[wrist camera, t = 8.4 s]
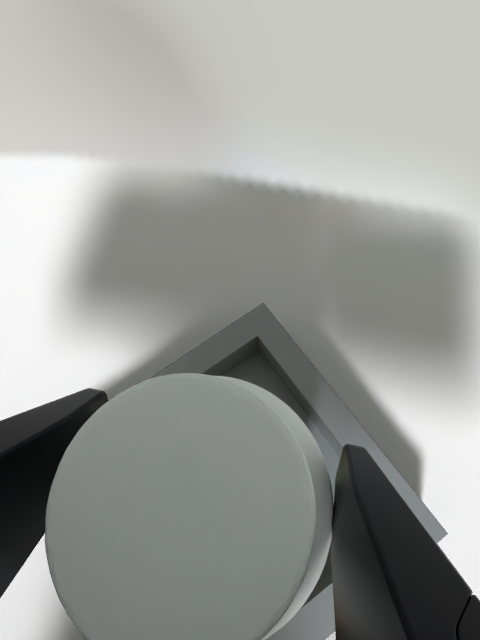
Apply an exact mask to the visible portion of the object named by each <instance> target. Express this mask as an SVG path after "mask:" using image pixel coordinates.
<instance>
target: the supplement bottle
mask: <svg viewBox="0 0 480 640" xmlns="http://www.w3.org/2000/svg"><path fill="white" fill-rule="evenodd" d="M332 524H333V492H332V486H331V481H330V477H329V473H328V469H327V466H326V463H325V460H324V457H323V455H322V453H321V450H320V448H319V446H318V444H317V442H316V440H315V439H314V437H313V435H312V433H311V432H310V431H309V429H308V428H307V426H306V425H305V424H304V422H303V421H302V420H301V419H300V418H299V416H298V415H297V414H296V413H295V412H294V411H293V410H292V409H291V408H290V407H289V406H288V405H287V404H285V403H284V402H283V401H282V400H280V399H279V398H278V397H276V396H275V395H273V394H272V393H270V392H268V391H267V390H265V389H263V388H261V387H259V386H257V385H255V384H252V383H249V382H247V381H244V380H240V379H236V378H232V377H225V376H211V375H205V374H198V373H179V374H170V375H164V376H159V377H155V378H152V379H148V380H145V381H143V382H141V383H138V384H136V385H134V386H132V387H130V388H128V389H126V390H124V391H123V392H121V393H119V394H118V395H116V396H115V397H113V398H112V399H111V400H109V401H108V402H106V403H105V404H104V405H103V406H101V407H100V408H99V409H98V410H97V411H96V412H95V413H94V414H93V415H92V416H91V417H90V418H89V419H88V420H87V421H86V422H85V423H84V425H83V426H82V427H81V428H80V430H79V431H78V432H77V434H76V435H75V437H74V438H73V440H72V441H71V443H70V444H69V446H68V447H67V449H66V451H65V453H64V455H63V457H62V459H61V462H60V464H59V466H58V469H57V472H56V474H55V477H54V480H53V483H52V485H51V489H50V493H49V497H48V503H47V508H46V518H45V547H46V555H47V560H48V565H49V570H50V574H51V577H52V580H53V584H54V587H55V589H56V592H57V595H58V597H59V600H60V601H61V603H62V605H63V607H64V609H65V611H66V612H67V614H68V616H69V617H70V619H71V620H72V622H73V623H74V625H75V626H76V627H77V628H78V629H79V631H80V632H81V633H82V634H83V635H84V636H85V637H86V638H87V639H88V640H265V639H267V638H268V637H270V636H271V635H273V634H274V633H275V632H277V631H278V630H279V629H281V628H282V627H283V626H284V625H285V624H286V623H287V622H288V621H290V620H291V619H292V618H293V617H294V615H295V614H296V613H297V612H298V611H299V609H300V608H301V607H302V606H303V604H304V603H305V602H306V600H307V599H308V597H309V596H310V594H311V592H312V591H313V589H314V587H315V585H316V583H317V581H318V580H319V578H320V575H321V573H322V571H323V568H324V565H325V562H326V559H327V555H328V552H329V548H330V544H331V539H332Z"/></svg>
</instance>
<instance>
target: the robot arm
mask: <svg viewBox="0 0 480 640" xmlns="http://www.w3.org/2000/svg"><path fill="white" fill-rule="evenodd" d="M106 402H108V398H107V394H106V393H105V392H104V391H101V390H96V389H91V388H88V389H85V390H82V391H79V392H77V393H74V394H71V395H69V396H66V397H63V398H61V399H58V400H55V401H52V402H50V403H47V404H44V405H42V406H39V407H36V408H34V409H31V410H28V411H26V412H23V413H20V414H18V415H15V416H12V417H10V418H7V419H4V420H1V421H0V598H1V596H2V595H3V593H4V592H5V591H6V589H7V588H8V586H9V585H10V583H11V582H12V580H13V579H14V577H15V576H16V574H17V573H18V571H19V570H20V569H21V567H22V566H23V564H24V563H25V561H26V560H27V558H28V557H29V555H30V554H31V552H32V551H33V549H34V548H35V547H36V545H37V544H38V542H39V541H40V539H41V538H42V536H43V535H44V533H45V518H46V508H47V503H48V497H49V493H50V489H51V485H52V483H53V480H54V477H55V474H56V472H57V469H58V466H59V464H60V462H61V459H62V457H63V455H64V453H65V451H66V449H67V447H68V446H69V444H70V443H71V441H72V440H73V438H74V437H75V435H76V434H77V432H78V431H79V430H80V428H81V427H82V426H83V425H84V423H85V422H86V421H87V420H88V419H89V418H90V417H91V416H92V415H93V414H94V413H95V412H96V411H97V410H98V409H99V408H100V407H101V406H103V405H104V404H105V403H106ZM331 566H332V583H333V599H334V615H335V631H336V640H480V600H479V599H478V598H477V596H476V595H472V590H471V589H470V587H469V586H468V585H467V583H466V582H465V581H464V579H463V578H462V576H461V575H460V574H459V572H458V571H457V570H456V568H455V567H454V566H453V564H452V563H451V562H450V560H449V559H448V558H447V556H446V555H445V554H444V552H443V551H442V550H441V548H440V547H439V546H438V544H437V543H436V542H435V540H434V539H433V538H432V536H431V535H430V534H429V532H428V531H427V530H426V528H425V527H424V526H423V524H422V523H421V522H420V520H419V519H418V518H417V516H416V515H415V514H414V512H413V511H412V510H411V508H410V507H409V506H408V504H407V503H406V502H405V500H404V499H403V498H402V496H401V495H400V494H399V492H398V491H397V489H396V488H395V487H394V485H393V484H392V483H391V481H390V480H389V479H388V477H387V476H386V475H385V473H384V472H383V471H382V469H381V468H380V467H379V465H378V464H377V463H376V461H375V460H374V459H373V457H372V456H371V455H370V453H369V452H368V451H367V449H366V448H364V447H362V446H357V445H352V444H345V445H344V447H343V450H342V454H341V458H340V462H339V465H338V469H337V473H336V478H335V489H334V507H333V524H332V542H331ZM471 595H472V596H471Z"/></svg>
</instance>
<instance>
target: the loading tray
mask: <svg viewBox="0 0 480 640" xmlns="http://www.w3.org/2000/svg"><path fill="white" fill-rule="evenodd" d="M179 373H198V374H205V375H211V376H225V377H232V378H236V379H240V380H244V381H247V382H249V383H252V384H255V385H257V386H259V387H261V388H263V389H265V390H267V391H268V392H270V393H272V394H273V395H275V396H276V397H278V398H279V399H280V400H282V401H283V402H284V403H285V404H287V405H288V406H289V407H290V408H291V409H292V410H293V411H294V412H295V413H296V414H297V415H298V416H299V418H300V419H301V420H302V421H303V422H304V424H305V425H306V426H307V428H308V429H309V431H310V432H311V433H312V435H313V437H314V439H315V440H316V442H317V444H318V446H319V448H320V450H321V453H322V455H323V457H324V460H325V463H326V466H327V469H328V473H329V477H330V481H331V486H332V492H333V507H334V489H335V478H336V473H337V469H338V465H339V462H340V458H341V454H342V450H343V447H344V445H345V444H352V445H357V446H362V447H364V448H366V449H367V451H368V452H369V453H370V455H371V456H372V457H373V459H374V460H375V461H376V463H377V464H378V465H379V467H380V468H381V469H382V471H383V472H384V473H385V475H386V476H387V477H388V479H389V480H390V481H391V483H392V484H393V485H394V487H395V488H396V489H397V491H398V492H399V494H400V495H401V496H402V498H403V499H404V500H405V502H406V503H407V504H408V506H409V507H410V508H411V510H412V511H413V512H414V514H415V515H416V516H417V518H418V519H419V520H420V522H421V523H422V524H423V526H424V527H425V528H426V530H427V531H428V532H429V534H430V535H431V536H432V538H433V539H434V540H435V542H436V543H438V542H439V541H440V540H441V539H442V538H443V537H445V536H446V535H447V534H448V533H447V532H446V531H445V529H444V528H443V527H442V526H441V524H440V523H439V522H438V521H437V519H436V518H435V517H434V516H433V514H432V513H431V512H430V511H429V509H428V508H427V507H426V506H425V504H424V503H423V502H422V501H421V499H420V498H419V497H418V496H417V494H416V493H415V492H414V491H413V489H412V488H411V487H410V486H409V484H408V483H407V482H406V481H405V479H404V478H403V477H402V476H401V474H400V473H399V472H398V471H397V469H396V468H395V467H394V466H393V464H392V463H391V462H390V461H389V459H388V458H387V457H386V456H385V454H384V453H383V452H382V451H381V449H380V448H379V447H378V446H377V444H376V443H375V442H374V441H373V439H372V438H371V437H370V436H369V434H368V433H367V432H366V431H365V429H364V428H363V427H362V426H361V424H360V423H359V422H358V421H357V419H356V418H355V417H354V416H353V414H352V413H351V412H350V411H349V409H348V408H347V407H346V406H345V404H344V403H343V402H342V401H341V399H340V398H339V397H338V396H337V394H336V393H335V392H334V391H333V389H332V388H331V387H330V386H329V384H328V383H327V382H326V381H325V379H324V378H323V377H322V376H321V374H320V373H319V372H318V371H317V369H316V368H315V367H314V366H313V364H312V363H311V362H310V361H309V359H308V358H307V357H306V356H305V354H304V353H303V352H302V351H301V349H300V348H299V347H298V346H297V344H296V343H295V342H294V341H293V339H292V338H291V337H290V336H289V334H288V333H287V332H286V331H285V329H284V328H283V327H282V326H281V324H280V323H279V322H278V321H277V319H276V318H275V317H274V316H273V314H272V313H271V312H270V311H269V309H268V308H267V307H266V306H265V304H264V303H262V304H261V305H259V306H258V307H256V308H255V309H253V310H252V311H250V312H249V313H247V314H246V315H244V316H243V317H241V318H240V319H238V320H237V321H235V322H234V323H232V324H231V325H229V326H228V327H226V328H225V329H223V330H222V331H220V332H219V333H217V334H216V335H214V336H213V337H211V338H210V339H208V340H207V341H205V342H204V343H202V344H201V345H199V346H198V347H196V348H195V349H193V350H192V351H190V352H189V353H187V354H186V355H184V356H183V357H181V358H180V359H178V360H177V361H175V362H174V363H172V364H171V365H169V366H168V367H166V368H165V369H163V370H162V371H160V372H159V373H157V374H156V375H154V376H153V377H151V378H150V379H152V378H155V377H159V376H164V375H170V374H179ZM331 542H332V539H331ZM334 631H335V615H334V599H333V583H332V566H331V544H330V548H329V552H328V555H327V559H326V562H325V565H324V568H323V571H322V573H321V575H320V578H319V580H318V581H317V583H316V585H315V587H314V589H313V591H312V592H311V594H310V596H309V597H308V599H307V600H306V602H305V603H304V604H303V606H302V607H301V608H300V609H299V611H298V612H297V613H296V614H295V615H294V617H293V618H292V619H291V620H290V621H288V622H287V623H286V624H285V625H284V626H283V627H282V628H281V629H279V630H278V631H277V632H275V633H274V634H273V635H271V636H270V637H268V638H267V639H265V640H325V639H326V638H327V637H328V636H329V635H331V634H332V633H333V632H334Z"/></svg>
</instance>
